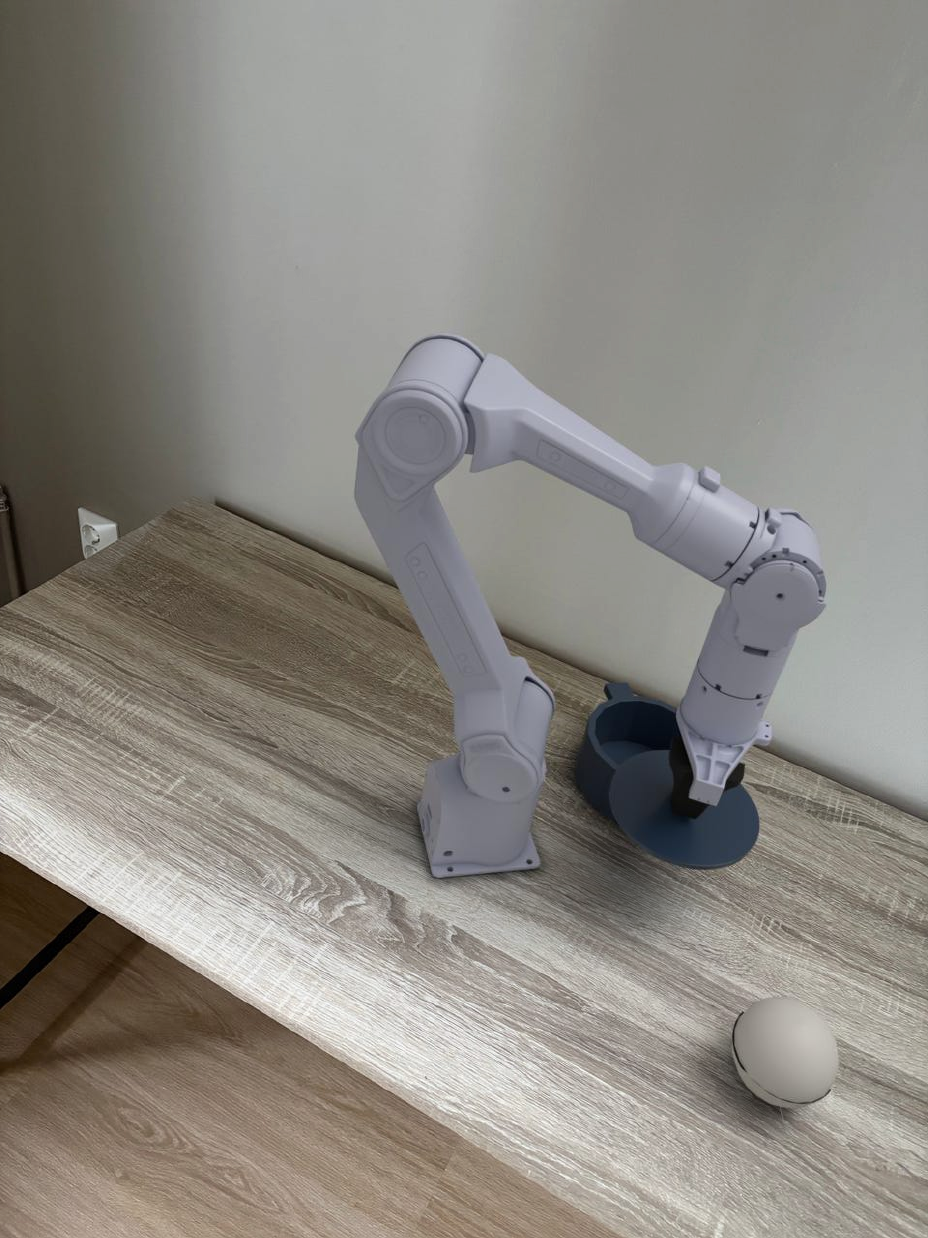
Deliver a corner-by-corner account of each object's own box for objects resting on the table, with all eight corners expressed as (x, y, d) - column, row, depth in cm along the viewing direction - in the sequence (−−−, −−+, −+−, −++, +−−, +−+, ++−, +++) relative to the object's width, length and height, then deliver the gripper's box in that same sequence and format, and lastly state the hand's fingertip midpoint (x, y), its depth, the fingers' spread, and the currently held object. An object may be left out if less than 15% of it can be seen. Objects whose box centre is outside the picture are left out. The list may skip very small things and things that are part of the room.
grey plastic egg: (729, 1012, 76) (760, 959, 71) (823, 1058, 74) (861, 1006, 70) (697, 1128, 68) (730, 1077, 64) (802, 1183, 67) (843, 1133, 62)
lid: (639, 883, 74) (654, 843, 71) (586, 764, 83) (598, 725, 80) (782, 866, 77) (802, 826, 74) (716, 753, 86) (732, 714, 83)
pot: (606, 857, 86) (622, 813, 83) (552, 723, 99) (564, 679, 95) (722, 846, 89) (743, 803, 86) (655, 717, 102) (670, 675, 98)
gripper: (789, 756, 64) (728, 884, 72) (794, 630, 75) (741, 754, 84) (683, 725, 65) (635, 855, 73) (703, 605, 76) (660, 730, 85)
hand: (685, 799), depth 79 cm, fingers closed on lid, 2 cm apart
